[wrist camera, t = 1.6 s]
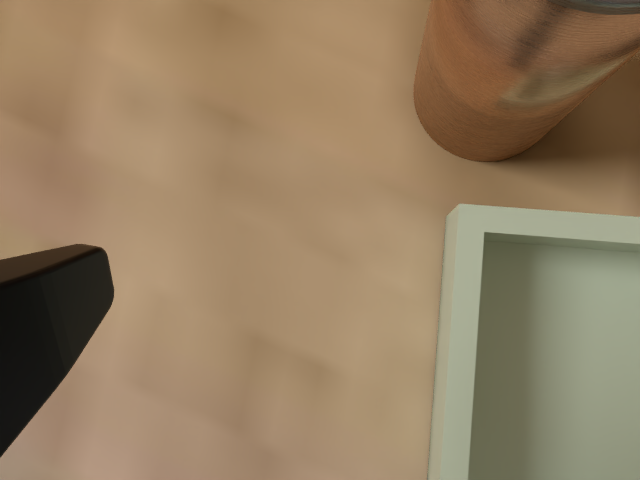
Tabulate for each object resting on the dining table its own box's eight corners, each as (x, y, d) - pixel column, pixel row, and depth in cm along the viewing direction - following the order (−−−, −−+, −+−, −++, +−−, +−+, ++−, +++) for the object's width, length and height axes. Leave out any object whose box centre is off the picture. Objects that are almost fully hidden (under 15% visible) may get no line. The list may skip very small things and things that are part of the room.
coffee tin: (558, 169, 21) (811, 5, 9) (405, 159, 22) (449, -11, 9) (566, 22, 22) (819, -324, 9) (416, 15, 22) (473, -322, 10)
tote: (765, 726, 19) (845, 814, 16) (413, 674, 20) (421, 747, 17) (778, 242, 20) (855, 233, 17) (445, 216, 21) (459, 203, 18)
